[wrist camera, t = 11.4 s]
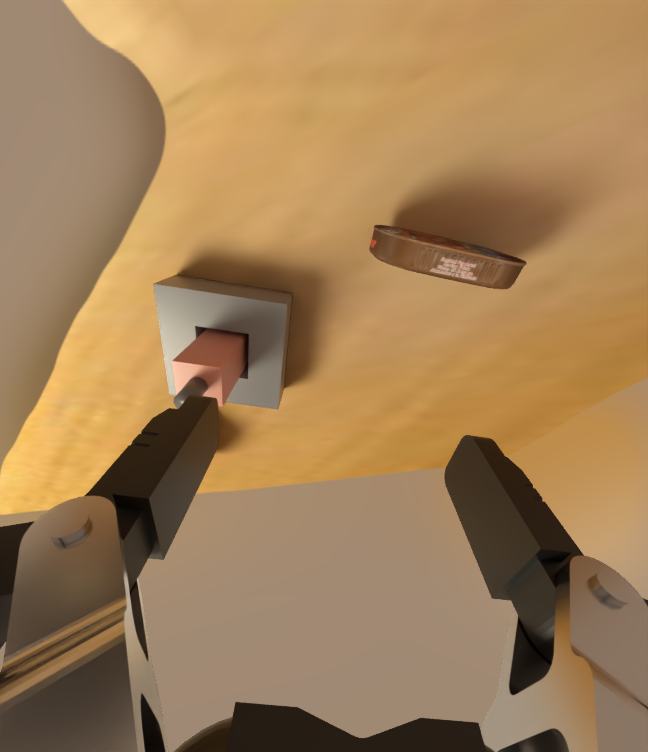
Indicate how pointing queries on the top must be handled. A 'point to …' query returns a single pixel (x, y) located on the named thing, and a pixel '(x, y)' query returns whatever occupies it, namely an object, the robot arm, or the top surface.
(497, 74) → the top surface
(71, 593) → the robot arm
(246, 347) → the plug
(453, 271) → the tin
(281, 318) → the socket block
